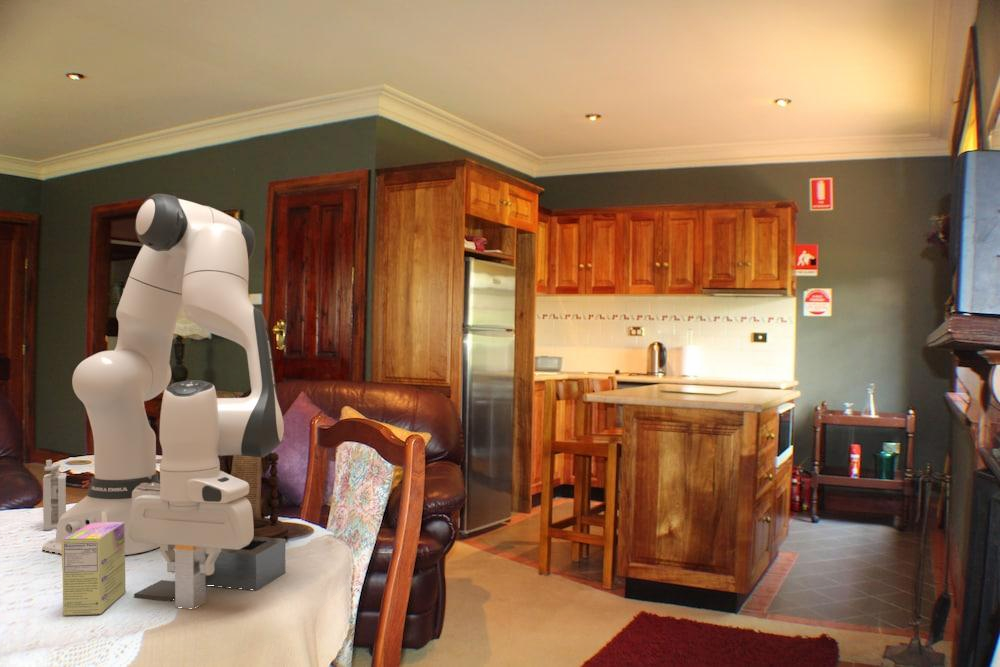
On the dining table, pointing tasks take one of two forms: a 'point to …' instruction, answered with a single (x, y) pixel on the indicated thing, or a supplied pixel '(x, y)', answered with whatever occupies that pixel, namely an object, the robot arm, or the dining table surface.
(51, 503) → the white pump bottle
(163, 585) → the mat
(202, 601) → the orange tipped grey block
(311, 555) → the dining table surface
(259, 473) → the scroll
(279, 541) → the square frame
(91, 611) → the box
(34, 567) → the dining table surface
